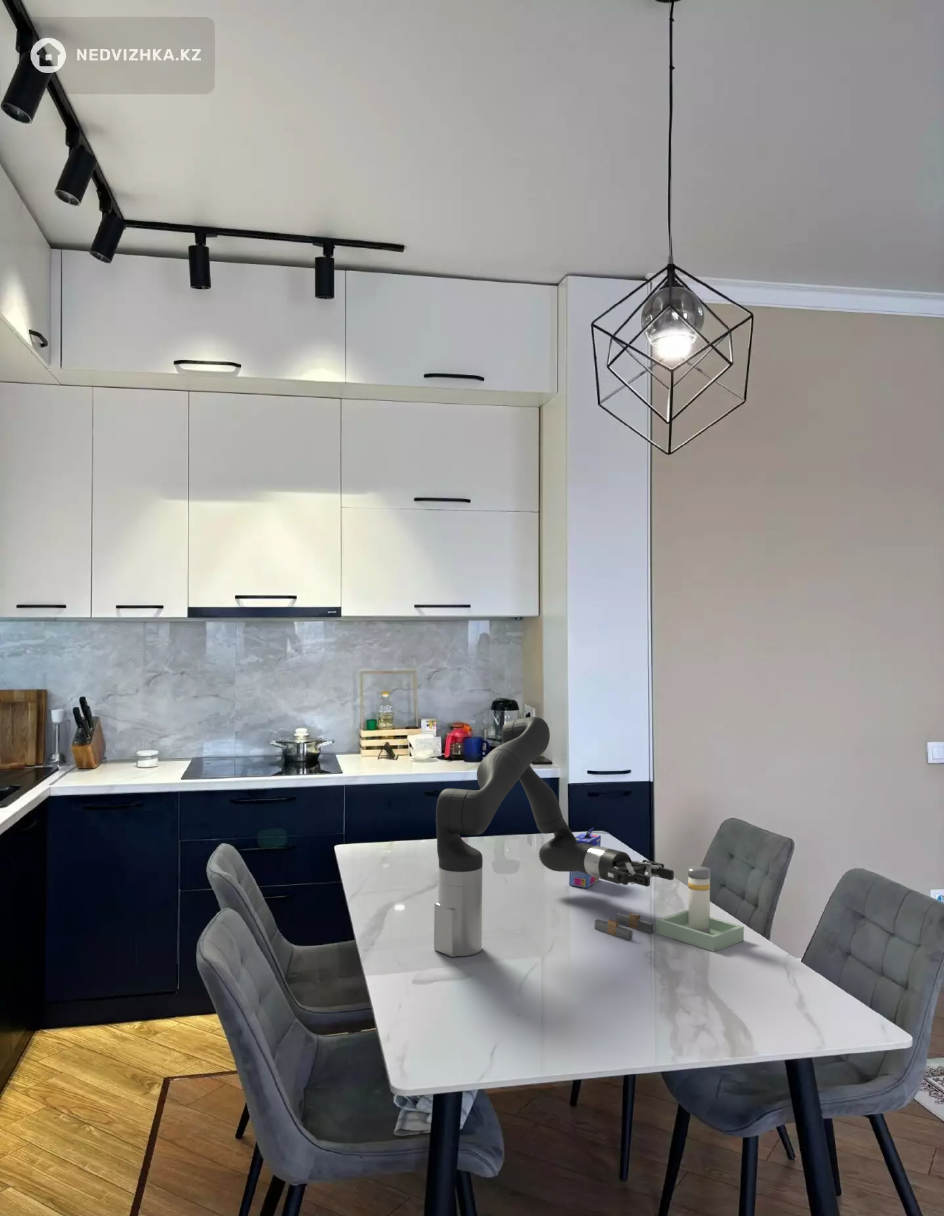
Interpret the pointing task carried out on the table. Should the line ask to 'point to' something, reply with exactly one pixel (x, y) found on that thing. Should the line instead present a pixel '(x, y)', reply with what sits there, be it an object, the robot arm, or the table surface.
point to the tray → (716, 940)
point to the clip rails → (630, 921)
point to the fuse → (699, 898)
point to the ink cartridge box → (579, 877)
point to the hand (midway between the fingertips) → (661, 878)
